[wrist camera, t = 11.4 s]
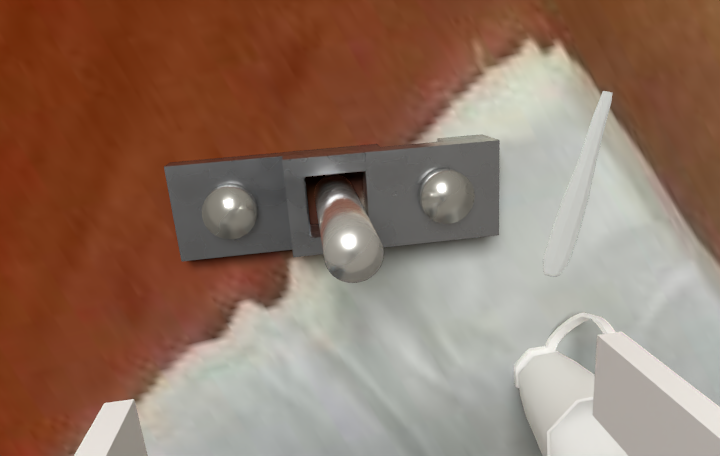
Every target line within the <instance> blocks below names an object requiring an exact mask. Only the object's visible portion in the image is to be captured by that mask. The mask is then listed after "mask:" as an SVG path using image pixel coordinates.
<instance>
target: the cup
mask: <svg viewBox="0 0 720 456" xmlns="http://www.w3.org/2000/svg"><path fill="white" fill-rule="evenodd" d="M590 319H592V320H593V321H594V322H595V323H596V324H597V325H598V326H599V328H600V329H601V331H602V332H603V334H608V333H615V330H614V329H613V327H612V326H611V325H610V324H609V323H608V322H607V321H606V320H605V319H604V318H603V317H600V316H596V315H593V314H588V313H584V312H583V313H580V314H577V315H574V316H572V317H571V318H570V319H568V320H567V321H565V322H564V323H563V324H561V325H560V326H559V327H558V328H556V330H555V331H554V332H553V333H552V334H551V335H550V336H549V338H548V339H547V342H546V344H545V346H542V347H536V348H530V349H528V350H527V351H526V352H525V353H524V354H523V355H522V356H521V358H520V359H519V360H518V361H517V362H516V363H515V364H514V384H515V386H516V387H517V388H519V389H520V397H521V401H522V405H523V408H524V412H525V415H526V418H527V420H528V422H529V425H530V427H531V429H532V432H533V434H534V436H535V438H536V441H537V443H538V446H539V448H540V451H541V453H542V456H628V455H627V454H626V452H625V451H624V450H623V449H622V448H621V447H620V446H619V445H618V443H617V442H616V441H615V440H614V439H613V438H612V437H611V436H610V434H609V433H608V432H607V431H606V430H605V429H604V428H603V427H602V425H601V424H600V423H599V422H598V421H597V420H596V419H595V418H594V416H593V415H592V414H593V397H594V380H595V375H594V374H593V373H591V372H590V371H588V370H587V369H586V368H584V367H583V366H581V365H580V364H579V363H577V362H576V361H574V360H572V359H570V358H568V357H566V356H564V355H562V354H561V353H560V352H558V351H557V350H556V348H557V345H558V343H559V342H560V340H561V339H562V338H563V337H564V336H565V335H566V334H567V333H568V332H570V331H571V330H572V329H574V328H575V327H576V326H578V325H579V324H581V323H582V322H585V321H587V320H590Z"/></svg>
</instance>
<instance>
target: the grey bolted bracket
mask: <svg viewBox="0 0 720 456" xmlns="http://www.w3.org/2000/svg"><path fill="white" fill-rule="evenodd" d="M164 169H165V175H166V180H167V185H168V191H169V196H170V202H171V207H172V212H173V218H174V223H175V228H176V234H177V239H178V245H179V250H180V255H181V261H190V260H199V259H208V258H218V257H227V256H236V255H246V254H255V253H264V252H274V251H283V250H292V249H293V257H301V256H310V255H319V254H324V253H323V247H322V241H321V234H320V228H319V224H310V220H309V210H308V201H307V191H306V182H305V177H307V176H317V175H328V174H339V173H349V172H360V171H362V181H363V195H364V208H365V212H366V214H367V215H368V217H369V219H370V221H371V223H372V225H373V227H374V229H375V231H376V233H377V235H378V237H379V239H380V241H381V243H382V246H383V247H393V246H402V245H411V244H420V243H429V242H439V241H448V240H457V239H466V238H475V237H485V236H494V235H499V140H497V139H494V138H491V137H488V136H485V135H472V136H461V137H450V138H438V142H432V143H421V144H410V145H399V146H388V147H380V146H379V145H377V144H372V145H360V146H349V147H338V148H327V149H316V150H305V151H294V152H283V153H271V154H260V155H249V156H238V157H227V158H216V159H205V160H193V161H182V162H171V163H169V164H167V165H166V166H164Z"/></svg>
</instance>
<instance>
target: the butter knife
mask: <svg viewBox="0 0 720 456" xmlns="http://www.w3.org/2000/svg"><path fill="white" fill-rule="evenodd" d="M611 100H612V93H611V92H607V91H603V92H602V95H601V97H600V100H599V102H598V105H597V107H596V110H595V112H594V115H593V118H592V121H591V124H590V127H589V130H588V133H587V136H586V139H585V142H584V145H583V148H582V151H581V154H580V157H579V160H578V162H577V165H576V167H575V170H574V172H573V175H572V177H571V180H570V182H569V184H568V187H567V189H566V192H565V194H564V197H563V199H562V202H561V205H560V208H559V211H558V214H557V217H556V219H555V222H554V225H553V228H552V231H551V234H550V237H549V241H548V244H547V247H546V251H545V255H544V259H543V272H544V274H545V275H549V276H554V277H555V276H559V275H560V274H561V273H562V272H563V270H564V269H565V268H566V267H567V265H568V263H569V260H570V258H571V255H572V253H573V250H574V247H575V244H576V241H577V238H578V234H579V231H580V227H581V224H582V220H583V217H584V213H585V209H586V206H587V202H588V198H589V193H590V189H591V184H592V179H593V174H594V170H595V166H596V161H597V157H598V153H599V148H600V144H601V140H602V136H603V132H604V128H605V124H606V120H607V116H608V112H609V109H610V105H611Z"/></svg>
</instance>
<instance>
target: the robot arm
mask: <svg viewBox="0 0 720 456" xmlns="http://www.w3.org/2000/svg"><path fill="white" fill-rule="evenodd" d="M592 415H593V416H594V418H595V419H596V420H597V421H598V422H599V423H600V424H601V425H602V427H603V428H604V429H605V430H606V431H607V432H608V433H609V434H610V436H611V437H612V438H613V439H614V440H615V441H616V442H617V443H618V445H619V446H620V447H621V448H622V449H623V450H624V451H625V452H626V454H627V455H628V456H720V407H719V406H718V405H716V404H715V403H714V402H713V401H711V400H710V399H709V398H707V397H706V396H705V395H703V394H702V393H701V392H700V391H698V390H697V389H696V388H694V387H693V386H692V385H690V384H689V383H688V382H687V381H685V380H684V379H683V378H681V377H680V376H679V375H678V374H676V373H675V372H674V371H672V370H671V369H670V368H668V367H667V366H666V365H665V364H663V363H662V362H661V361H659V360H658V359H657V358H655V357H654V356H653V355H652V354H650V353H649V352H648V351H646V350H645V349H644V348H642V347H641V346H640V345H639V344H637V343H636V342H635V341H633V340H632V339H631V338H630V337H628V336H627V335H626V334H624V333H623V332H615V333H608V334H600V335H597V346H596V363H595V380H594V397H593V414H592ZM74 456H148V455H147V451H146V447H145V443H144V439H143V434H142V430H141V426H140V422H139V418H138V413H137V409H136V405H135V401H134V399H131V400H124V401H117V402H110V403H104V405H103V407H102V408H101V410H100V412H99V413H98V415H97V417H96V419H95V420H94V422H93V424H92V426H91V427H90V429H89V431H88V432H87V434H86V436H85V438H84V439H83V441H82V443H81V445H80V446H79V448H78V450H77V451H76V453H75V455H74Z"/></svg>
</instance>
